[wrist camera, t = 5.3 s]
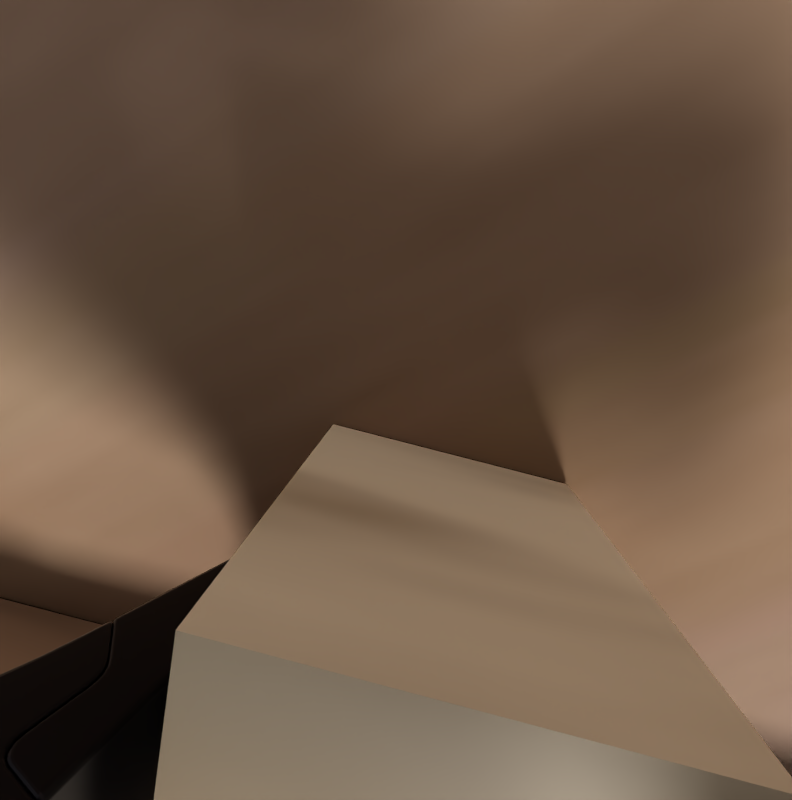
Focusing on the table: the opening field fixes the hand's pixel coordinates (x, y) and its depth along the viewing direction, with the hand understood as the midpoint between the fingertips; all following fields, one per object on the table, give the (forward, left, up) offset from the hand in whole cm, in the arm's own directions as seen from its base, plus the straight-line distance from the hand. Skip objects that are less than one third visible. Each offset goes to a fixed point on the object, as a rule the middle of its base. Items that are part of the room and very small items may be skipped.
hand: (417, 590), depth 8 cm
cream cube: (0, 0, -1) cm, 1 cm away
